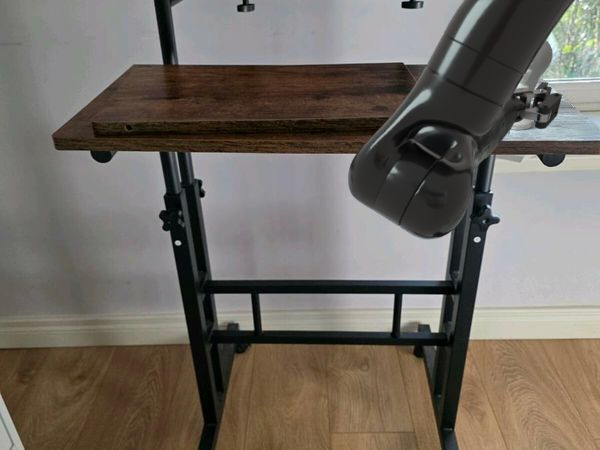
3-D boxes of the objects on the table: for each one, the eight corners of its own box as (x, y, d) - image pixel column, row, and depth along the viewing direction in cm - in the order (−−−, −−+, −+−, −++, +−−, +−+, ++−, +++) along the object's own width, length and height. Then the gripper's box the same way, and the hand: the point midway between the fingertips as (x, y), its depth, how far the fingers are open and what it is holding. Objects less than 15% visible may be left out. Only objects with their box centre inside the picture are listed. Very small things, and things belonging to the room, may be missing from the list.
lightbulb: (516, 98, 89) (529, 30, 84) (548, 108, 85) (565, 36, 79) (492, 105, 87) (504, 35, 81) (524, 116, 82) (540, 43, 76)
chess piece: (516, 132, 77) (530, 62, 72) (489, 122, 80) (501, 54, 75) (538, 125, 79) (554, 56, 74) (511, 115, 83) (524, 49, 77)
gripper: (546, 101, 53) (575, 62, 64) (411, 80, 59) (459, 48, 71) (530, 170, 56) (560, 122, 68) (405, 143, 63) (451, 103, 75)
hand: (508, 84), depth 69 cm, fingers open, 8 cm apart
